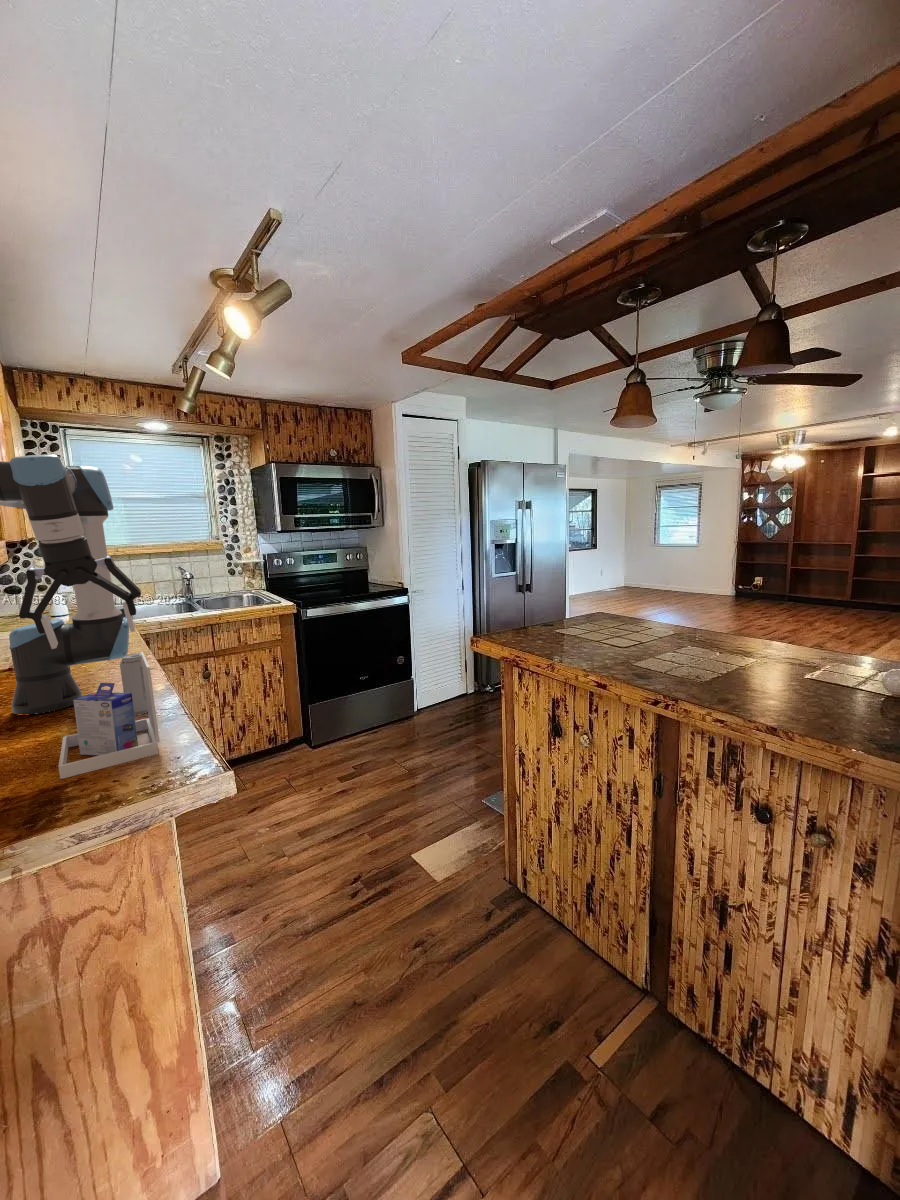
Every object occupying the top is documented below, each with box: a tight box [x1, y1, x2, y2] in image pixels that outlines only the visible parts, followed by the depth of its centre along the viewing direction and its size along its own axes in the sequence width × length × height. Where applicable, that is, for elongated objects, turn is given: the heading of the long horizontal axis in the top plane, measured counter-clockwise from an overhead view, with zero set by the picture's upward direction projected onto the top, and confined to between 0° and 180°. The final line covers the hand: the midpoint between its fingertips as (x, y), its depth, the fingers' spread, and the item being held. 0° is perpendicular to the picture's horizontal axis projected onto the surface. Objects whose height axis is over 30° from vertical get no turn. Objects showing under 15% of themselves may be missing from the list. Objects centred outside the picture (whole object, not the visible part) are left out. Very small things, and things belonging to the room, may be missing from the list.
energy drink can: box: [119, 653, 149, 716], centre depth 126 cm, size 6×6×15 cm
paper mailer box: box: [58, 651, 160, 780], centre depth 103 cm, size 18×16×18 cm
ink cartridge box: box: [73, 682, 139, 756], centre depth 103 cm, size 10×6×14 cm, turn 78°
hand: (95, 637), depth 102 cm, fingers open, 13 cm apart
